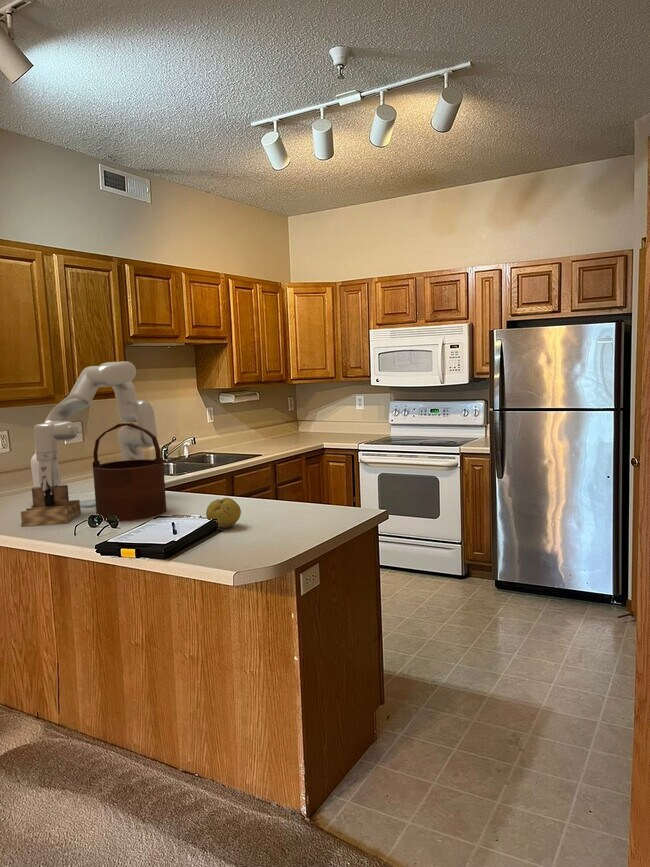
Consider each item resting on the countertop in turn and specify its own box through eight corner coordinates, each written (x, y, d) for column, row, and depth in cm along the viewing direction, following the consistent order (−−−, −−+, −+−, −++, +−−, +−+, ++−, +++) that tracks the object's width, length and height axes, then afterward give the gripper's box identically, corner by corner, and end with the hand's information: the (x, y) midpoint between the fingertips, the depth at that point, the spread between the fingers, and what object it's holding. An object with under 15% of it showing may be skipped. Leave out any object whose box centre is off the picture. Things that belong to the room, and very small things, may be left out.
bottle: (44, 504, 260) (39, 434, 257) (28, 503, 263) (23, 433, 260) (57, 500, 268) (53, 432, 265) (42, 499, 270) (38, 431, 267)
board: (69, 510, 234) (67, 484, 232) (67, 512, 231) (65, 486, 230) (36, 512, 232) (34, 486, 231) (34, 514, 229) (31, 488, 228)
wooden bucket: (106, 508, 248) (100, 422, 245) (171, 504, 251) (166, 419, 247) (88, 523, 223) (80, 427, 219) (160, 519, 225) (154, 424, 221)
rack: (81, 512, 241) (80, 499, 241) (67, 523, 223) (66, 509, 223) (38, 515, 240) (37, 502, 239) (21, 526, 222) (20, 512, 221)
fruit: (222, 522, 217) (220, 494, 216) (248, 525, 211) (247, 496, 210) (200, 529, 207) (199, 500, 206) (228, 533, 201) (226, 503, 200)
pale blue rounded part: (109, 501, 263) (109, 498, 263) (102, 507, 251) (102, 504, 251) (80, 503, 261) (80, 500, 261) (72, 509, 250) (71, 506, 249)
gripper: (50, 458, 221) (55, 508, 223) (64, 453, 238) (68, 499, 240) (28, 460, 221) (33, 510, 223) (44, 454, 237) (48, 500, 239)
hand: (51, 504), depth 231 cm, fingers closed on board, 3 cm apart
